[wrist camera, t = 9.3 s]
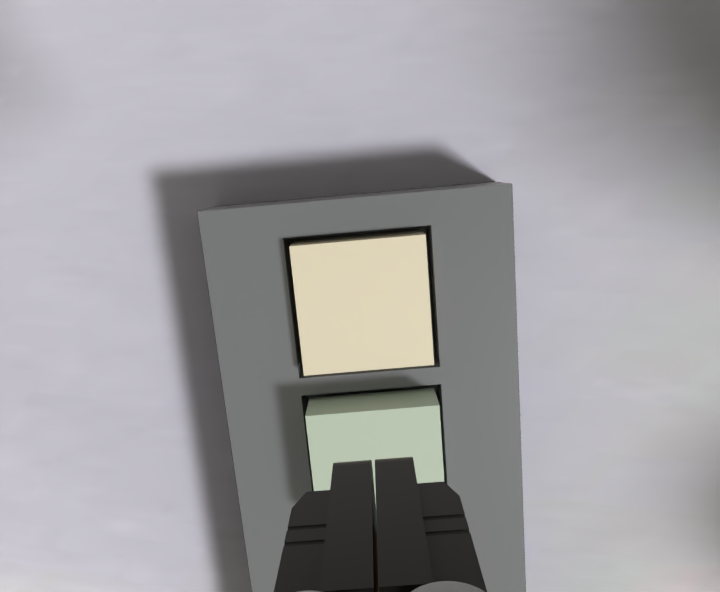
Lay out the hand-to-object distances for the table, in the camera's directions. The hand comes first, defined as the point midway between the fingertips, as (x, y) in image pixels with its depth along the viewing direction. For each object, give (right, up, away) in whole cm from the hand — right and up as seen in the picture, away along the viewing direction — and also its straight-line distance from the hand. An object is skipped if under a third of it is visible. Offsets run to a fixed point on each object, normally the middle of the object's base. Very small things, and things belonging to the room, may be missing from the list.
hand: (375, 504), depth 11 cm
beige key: (0, +4, +16) cm, 16 cm away
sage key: (0, -3, +16) cm, 17 cm away
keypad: (0, -3, +19) cm, 19 cm away
